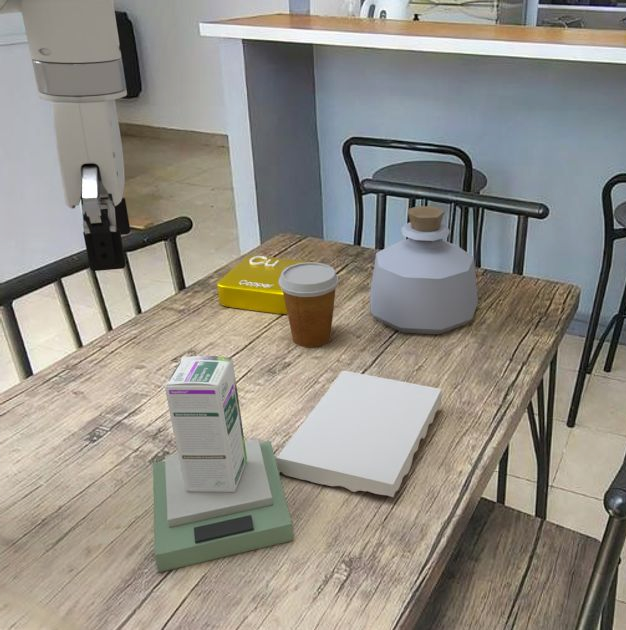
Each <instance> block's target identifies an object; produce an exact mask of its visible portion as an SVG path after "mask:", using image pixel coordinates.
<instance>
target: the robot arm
mask: <svg viewBox="0 0 626 630" xmlns="http://www.w3.org/2000/svg"><path fill="white" fill-rule="evenodd" d="M114 5H115V4H114V0H0V15H4V14H13V13H15V14H17V13H21V15H22V16H21V17H22V20H23V25H24V30H25V34H26V40H27V45H28V50H29V54H30V58H31V64H32V68H33V73H34V77H35V83H36V87H37V91H38V92H37V93H38V97H39V99H41V100H44V101H49V102H51V103H50V105H51V106H50V107H51V117H52V127H53V135H54V141H55V147H56V153H57V154H56V155H57V161H58V165H59V166H58V167H59V172H60V177H61V184H62V190H63V196H64V202H65V203H64V204H65V205H66V207H68V208H70V209H72V210H73V209H75V208H76V206H80V204H81V217H82V228H83V232H82V234H83V240H84V243H85V248H86V254H87V260H88V264H89V268H90V270H91V271H93V272H100V271H101V272H103V271H113V270H123V269H125V268H126V266H127V263H126V256H125V251H124V245H123V238H122V236H123V235H129V234H130V233H131V226H130V220H129V219H130V218H129V214H128V208H127V201H126V198H125V197H124V190H125V183H126V178H125V177H126V175H125V161H124V152H123V143H122V136H121V130H120V122H119V117H118V111H117V105H116V100H119V99H123V98H125V97H126V96H127V95H128V91H127V84H126V78H125V71H124V63H123V58H122V50H121V44H120V38H119V32H118V26H117V25H118V24H117V19H116V12H115V6H114Z"/></svg>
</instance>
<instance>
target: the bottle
mask: <svg viewBox="0 0 626 630" xmlns="http://www.w3.org/2000/svg"><path fill="white" fill-rule="evenodd" d="M445 212H446V210H443V209H441V208H439V207H436V206H434V205H433V206H432V205H430V206H428V205H421V206H420V205H416V206H413V207H410V208H408V211H407V216H408V218H409V222H407V223H405V224H404V225H403V226H402V227H401V228H400V230H401V236H402V237H406V238H407V239H403V240H400V241H397V242H395V243H392V244H390V245H389V246H387V247H385V248H383V249H381V250H379V251H377V252H375V258H374V265H373V272H372V276H371V277H372V278H371V284H370V289H369V290H370V291H369V295H368V296H369V304H370V311H371V315H372V316H373V318H375V319H376V320H377V321H378V322H379V323H382V324H384V325H385V326H388V327H390V328H392V329H394V330H396V331H398V332H400V333H402V334H421V335H441V334H444V333H447V332H449V331H452V330H455V329H457V328H460V327H463V326H466V325H467V324H469V322H471V321H472V320H473V317H474V315H475V312H476V309H477V306H478V304H479V296H478V286H477V285H478V284H477V275H476V265H475V256H473V255H471V253H469V252H467V251H465V249H463V248H462V247H460V246H459V245H457V244H454V243H451V242H450V241H446V240H444V239H446V238H448V237H449V235H450V233H451V230H450V229H449V227H448V226H447V225H445V224H444V223H442V221H443V218H444V215H445Z"/></svg>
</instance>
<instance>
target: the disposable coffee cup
mask: <svg viewBox="0 0 626 630" xmlns="http://www.w3.org/2000/svg"><path fill="white" fill-rule="evenodd" d="M338 276H339V275H337V274H336V269H335V268H334V267H332V266H331V265H328V264H326V263H323V262H322V263H321V262H315V261H309V262H307V263H298V264H294V265H291V266H289V267H287V268H285V269H284V270H283V271H282V272H281V277H280V278H279V281H278V282H279V286H280V287H281V289H282V290H283V295H284V300H285V304H286V309H287V314H286V315H287V318H288V323H289V327H290V333H291V336H292V337H291V338H292V341H293V343H294V344H296V345H297V346H299V347H303V348H317V347H321V346H324V345H327V343H329V342H330V340H331V337H332V327H333V318H334V309H335V297H336V288H337V285H338V284H339V277H338Z"/></svg>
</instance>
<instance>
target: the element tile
mask: <svg viewBox="0 0 626 630" xmlns="http://www.w3.org/2000/svg"><path fill="white" fill-rule="evenodd" d="M307 262H310V261H308V260H299V259H291V258H290V259H289V258H283V257H282V258H281V257H273V256H265V255H257V254H255V255H254V254H251V255H248V256H247V257H245V258H244V259H242V260H241V261H240V262H239V263H237V265H235V266H234V267H233V268H232V269H231V270H229V271H228V272H227V273H226V274H225V275H223V276H222V277H221V278H220V279H219V280H218V281H217V282H216V287H217V295H218V297H217V298H218V303H219V304H220V306H223V307H226V308H232V309H239V310H246V311H253V312H262V313H271V314H275V315H276V314H277V315H288V314H287V309H286V304H285V300H284V295H283V290H282V289H281V287H280V286H279V282H278V281H279V278H280V277H281V272H282V271H283V270H284V269H285V268H287V267H289V266H291V265H294V264H298V263H307Z"/></svg>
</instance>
